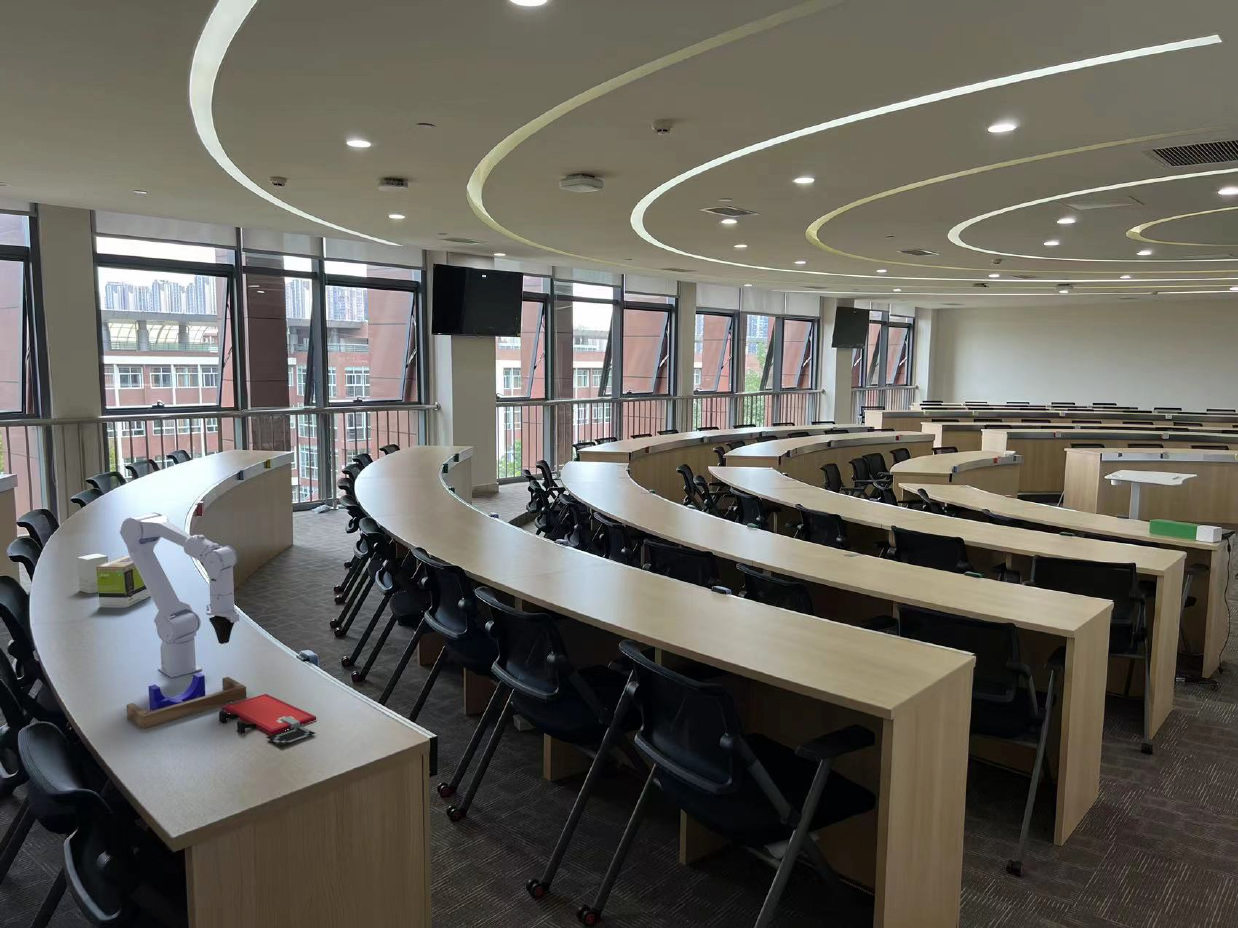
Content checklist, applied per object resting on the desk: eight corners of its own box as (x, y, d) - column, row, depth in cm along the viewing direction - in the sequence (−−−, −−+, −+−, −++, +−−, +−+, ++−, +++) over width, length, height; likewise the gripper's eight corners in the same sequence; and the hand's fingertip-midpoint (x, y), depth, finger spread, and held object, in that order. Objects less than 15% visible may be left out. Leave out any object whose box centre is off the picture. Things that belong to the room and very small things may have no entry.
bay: (127, 716, 197) (126, 704, 197) (228, 687, 215) (228, 676, 215) (143, 728, 191) (142, 716, 190) (246, 697, 209) (246, 686, 209)
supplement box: (110, 589, 305) (108, 555, 303) (89, 594, 298) (86, 559, 297) (100, 586, 308) (98, 553, 307) (78, 590, 302) (76, 556, 301)
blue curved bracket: (157, 715, 199) (156, 690, 198) (149, 710, 201) (148, 686, 201) (208, 700, 208) (207, 676, 207) (200, 695, 211) (199, 672, 210)
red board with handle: (273, 752, 181) (334, 730, 192) (273, 739, 180) (334, 719, 192) (206, 716, 199) (266, 699, 211) (206, 705, 199) (266, 688, 211)
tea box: (125, 595, 297) (123, 555, 295) (153, 596, 297) (151, 555, 295) (97, 607, 282) (95, 565, 281) (126, 608, 282) (124, 565, 280)
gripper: (194, 590, 222) (196, 640, 223) (219, 601, 212) (221, 652, 214) (220, 585, 227) (222, 634, 229) (246, 595, 218) (248, 646, 219)
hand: (223, 642), depth 222 cm, fingers closed
